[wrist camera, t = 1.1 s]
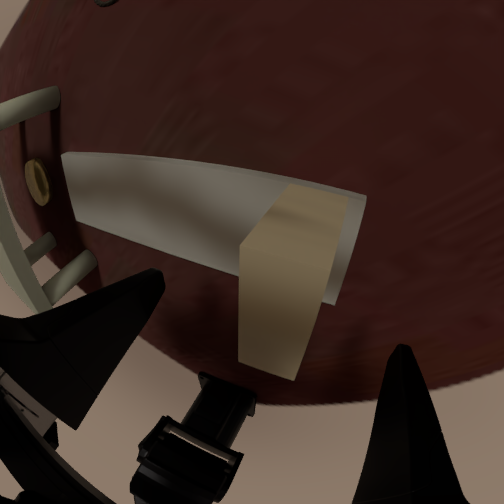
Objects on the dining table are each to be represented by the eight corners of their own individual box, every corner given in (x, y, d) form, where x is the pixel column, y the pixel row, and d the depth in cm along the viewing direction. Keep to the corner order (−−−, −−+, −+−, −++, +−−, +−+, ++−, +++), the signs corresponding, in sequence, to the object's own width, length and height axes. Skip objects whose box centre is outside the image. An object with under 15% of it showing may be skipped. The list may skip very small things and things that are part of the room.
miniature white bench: (101, 271, 24) (45, 323, 18) (51, 244, 27) (6, 282, 21) (60, 80, 13) (-33, 114, 7) (17, 102, 16) (-45, 131, 10)
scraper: (337, 292, 15) (311, 386, 10) (84, 215, 21) (33, 252, 16) (366, 192, 11) (358, 279, 6) (70, 150, 17) (9, 181, 12)
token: (59, 202, 22) (50, 208, 21) (40, 198, 23) (32, 203, 22) (47, 155, 19) (37, 160, 18) (29, 157, 20) (21, 161, 19)
